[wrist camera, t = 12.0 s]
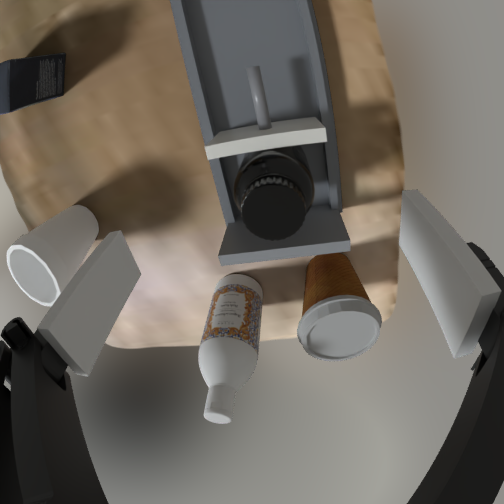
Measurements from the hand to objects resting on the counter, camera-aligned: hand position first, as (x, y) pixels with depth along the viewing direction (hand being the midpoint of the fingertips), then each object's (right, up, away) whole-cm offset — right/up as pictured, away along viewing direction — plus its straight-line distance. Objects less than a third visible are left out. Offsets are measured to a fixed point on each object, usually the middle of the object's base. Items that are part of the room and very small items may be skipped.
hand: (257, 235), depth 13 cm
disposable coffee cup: (+10, -3, +26) cm, 28 cm away
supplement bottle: (+2, +9, +18) cm, 20 cm away
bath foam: (-2, -6, +30) cm, 30 cm away
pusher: (+1, +14, +14) cm, 20 cm away
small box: (-29, +23, +13) cm, 39 cm away
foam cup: (-25, +4, +25) cm, 36 cm away
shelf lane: (0, +18, +13) cm, 22 cm away
